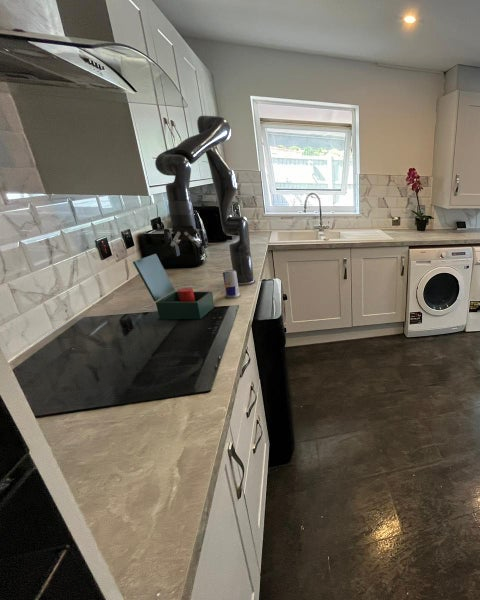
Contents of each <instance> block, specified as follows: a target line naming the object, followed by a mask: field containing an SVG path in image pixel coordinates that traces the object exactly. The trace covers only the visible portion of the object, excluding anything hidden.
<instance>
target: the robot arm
mask: <svg viewBox="0 0 480 600" xmlns="http://www.w3.org/2000/svg"><path fill="white" fill-rule="evenodd" d="M196 125H197V130H198V133H197V134H195V135H191V136H189V137H187V138H185V139H183V140H182V141H181V142H180V143H179V144H178V145H177V146H175V147H172V148H169V149H167V150H164V151H162V152H161V153H159V154H158V155H157V156H156V158H155V161H154V166H155V168H156V170H157V171H158V172H159V174H162V175H164V176H169V177H170V176H171V177H174V181H173V182H168V183H167V184H166V185H165V193H166V197H167V207H168V208H167V209H168V213H169V216H170V217H169V218H170V223H171V226H172V228H170V227H167V228H163V236H164V237H163V238H164V243H165V245H166V246H167V245H168V246H170V247H171V248H172V254H173V255H174V256H175V257H179V256H181V252H180V248H179V245H178V244H179V243H180V242H181V241H189V242H190V241H191V242H192V243H193V244H195V245H196V246H197V247H196V250H197V254H198V257H203V256H204V255H205V249H204V246H206V245H208V244H209V241H208V235H207V231H206V229H205V228H201V229H197V228H196V220H195V213H194V207H193V204H192V201H191V193H190V184H191V183H190V182H191V174H192V167H191V165H192V164H195V163H196V161H198V160H199V159H200V158H201V157H202V156H204V154H205V155H206V158H207V163H208V166H209V170H210V175H211V180H212V184H213V188H214V191H215V196H216V199H217V204H218V209H219V216H220V223H221V228H222V232H223V233H224V234H225V235H226V236H229V237H230V236H232V237H238V240H237V241H233V242H231V243H230V244H229V245H228V250H229V254H230V261H231V267H232V269H231V270H235V271H236V274H237V281H238V286H246V285H251V284H253V283H255V278H254V277H255V276H254V269H253V260H252V253H251V237H250V225H249V221H248V219H247V218H246V217H245V216H232V214H231V205H232V202H233V199H234V197H235V195H236V193H237V188H238V185H237V182H236V176H235V173H234V170H233V169H232V168H231V166H230V165H229V164H228V162H227V161H226V160H225V159H224V158H223V156H222V154H221V153H220V150H219V148H218V145H220V144H222V143H224V142H226V141H228V140H229V139H230V137H231V134H232V133H231V132H232V131H231V130H232V129H231V126H230V123H229V121H228V120H227V119H226V118H224V117H222V116H218V115H200V116H198V117H197V121H196ZM172 234H174V237H173V238H172ZM197 234H198V235H199V237H200V238H199V237H198V235H197Z"/></svg>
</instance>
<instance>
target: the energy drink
mask: <svg viewBox="0 0 480 600" xmlns="http://www.w3.org/2000/svg"><path fill="white" fill-rule="evenodd" d="M222 278H223V283H224V284H223V285H224V291H225V297H226V298H227V299H236V298H238V297H240V289H239V285H238V281H237V274H236V271H235V270H233V269H225V270H223V271H222Z"/></svg>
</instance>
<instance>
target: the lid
mask: <svg viewBox="0 0 480 600" xmlns="http://www.w3.org/2000/svg"><path fill="white" fill-rule="evenodd" d="M132 264H133V266H134V268H135V269H136V271H137V273H138V275H139V276H140V278H141V280H142V282H143V284H144V286H145V287H146V289H147V291H148V292H149V295H150V296H151V298H152V300H153V301H154V302H157V301H159V300H161V299H163V298H164V297H166V296H168V295H169V294H171V293H173V292H174V291H176V289H175V288H174V286H173V284H172V282H171V280H170V278H169V276H168V274H167V272H166V269H165V268H164V266H163V264H162V262H161V260H160V259H159V257H158V255H157V253H154V254H151V255H148V256H145V257H142V258H140V259H137V260H134V261H132Z"/></svg>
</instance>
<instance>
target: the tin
mask: <svg viewBox="0 0 480 600" xmlns="http://www.w3.org/2000/svg"><path fill="white" fill-rule="evenodd" d="M177 291H178V295H179V299H180V302H195V297H194V292H195V291H194V288H193V287H182V288H178V289H177Z"/></svg>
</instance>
